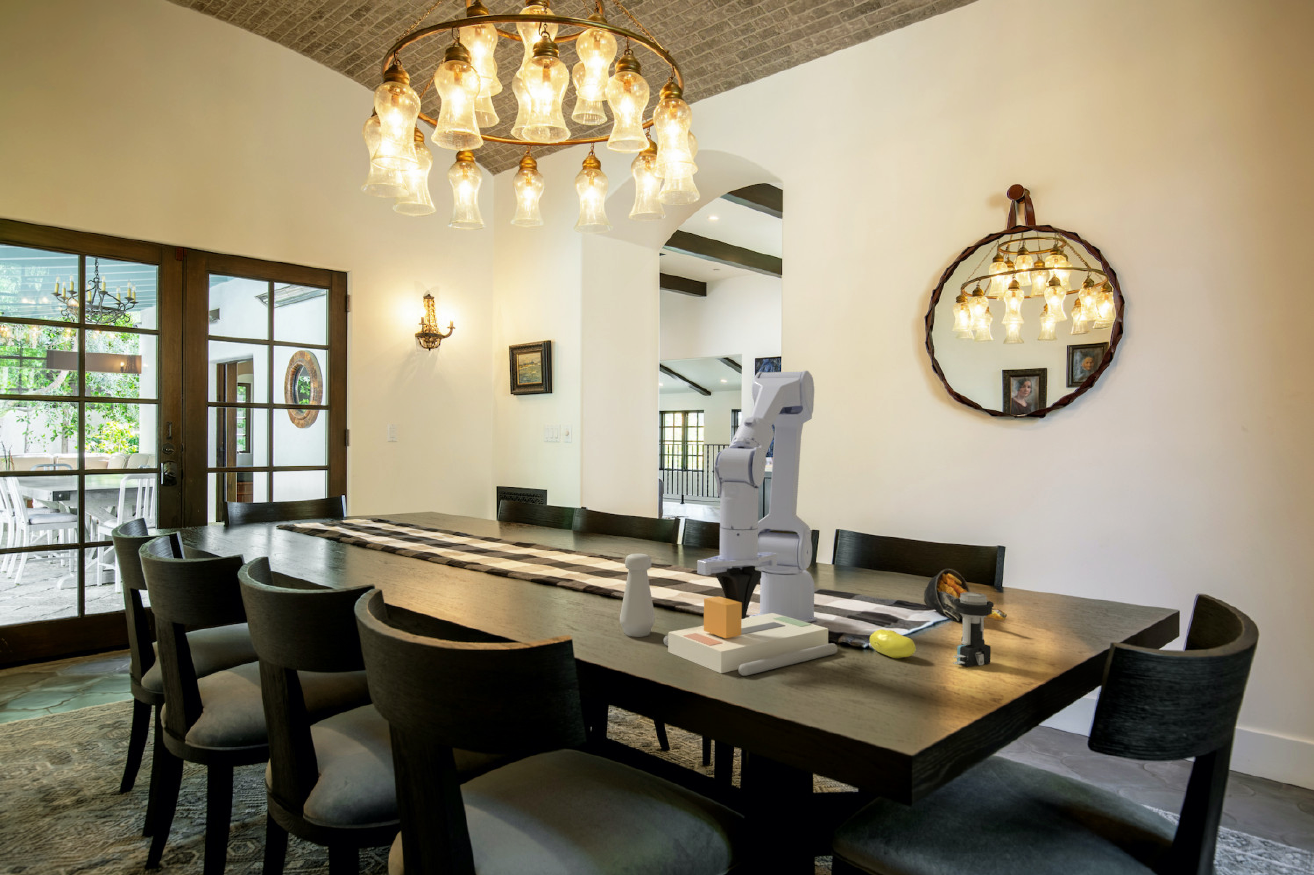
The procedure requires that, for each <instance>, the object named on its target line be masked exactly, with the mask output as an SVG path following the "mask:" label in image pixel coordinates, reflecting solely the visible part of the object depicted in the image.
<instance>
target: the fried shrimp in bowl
mask: <svg viewBox="0 0 1314 875" xmlns="http://www.w3.org/2000/svg"><path fill="white" fill-rule="evenodd" d="M965 592H971V591H970V589H969V585H968V584H967V581H966V580H965V578H964V577H963V576H962V575H961V574H960V572H958V571H956V570H954V569H952V568H944V569H942V570H940V572H938V574H936V575H935V576H933V577H932V578H931V579H930V581H929V582H928V584H927V587H926V588H925V589H924V592H923V602H924V604H925V605H926V606H927V607H929V608H931V609H934V610H935V611H936V612H938V613H940V614H943V615H945V616H946V617H948V618H950V619H952V620H954V621H955V622H960V620H962V621H963V617H962V615H961V614H960V613H959V612H957V611H956V610H955V603H954V599H957V598H960V597H961V593H965ZM1007 617H1008V615H1007V613H1006V612H1004V611H1002V610H1001V609H999V608H994V607H992V614H990V615H988V616H987V617H986V618H992V619H993V620H998V621H999V620H1001V621H1004V620H1006V618H1007Z"/></svg>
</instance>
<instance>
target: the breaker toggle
mask: <svg viewBox="0 0 1314 875" xmlns="http://www.w3.org/2000/svg"><path fill="white" fill-rule="evenodd" d="M741 619H742V603H741V602H738V601H734V600H730V599H727V598H726V597H722V596H720V595H719V596H712V597H705V598H704V599H703V626H704V631H706V632H709V633H712V634H715V635H717V636H720V637H723V638H731V637H735V636H740V635H741Z"/></svg>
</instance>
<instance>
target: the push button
mask: <svg viewBox="0 0 1314 875" xmlns="http://www.w3.org/2000/svg"><path fill="white" fill-rule="evenodd" d="M954 603H955V610H956V611H957V612H959V613H960V614H961V615H962V617H963V620H962V633H961V634H962V636H961V644H959V645H957V648H956V652H957V653H956V655H952V657H953V658H954V659H955V658H956V661H954V662H952V664H954V665H961V666H962V667H963V666H964V667H967V668H970V667H975V666H984V665H985V664H986V665H990V663H991V653H992V651H991V650H992V649H991V648H992V647H991V645H989V644H985V641H986V640H985V638H984V632H985V631H984V630H985V628H984V627H985V626H984V625H985V618H988V617H987V616H988V615H990V614H992V608H994V604H995V603H994V602H993V601H990V600H988V597H987V594H983V593H980V592H971V591H970V592H965V593H961V597H960V598H957V599H954Z"/></svg>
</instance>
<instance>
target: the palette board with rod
mask: <svg viewBox="0 0 1314 875" xmlns="http://www.w3.org/2000/svg"><path fill="white" fill-rule="evenodd" d="M663 643H664V645H665V646H667V647H668V635H665V636H664V637H663ZM837 652H838V646H837V644H835V643H832V642H831V643H828V644H825V645H821V646H817V647H813V648H808V649H804V650H800V651H795V652H791V653H787V654H783V655H778V656H774V657H770V658H766V659H761V660H757V661H753V662H748V663H744V664H741V665H740V666H739V668H738V669H737V670H738V674H740V675H741V676H743V677H746V676H751V675H754V674H755V675H756V674H759V673H762V672H767V671H771V670H774V669H779V668H782V667H783V668H784V667H786V666H791V665H795V664H798V663H799V664H800V663H803V662H807V661H811V660H815V659H819V658H820V659H821V658H823V657H824V658H825V657H828V656H832V655H835V654H836V653H837Z"/></svg>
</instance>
